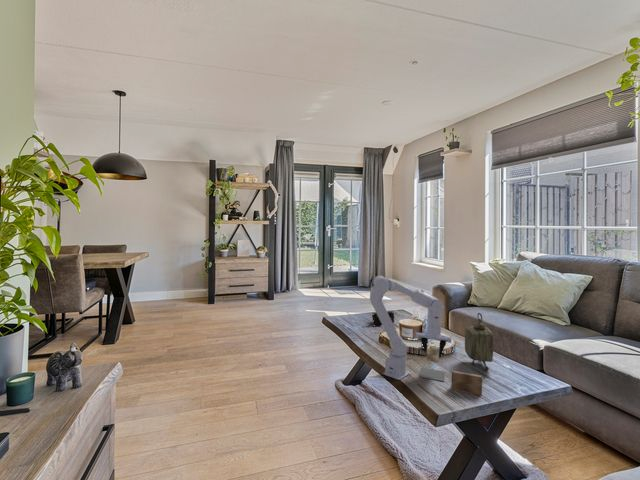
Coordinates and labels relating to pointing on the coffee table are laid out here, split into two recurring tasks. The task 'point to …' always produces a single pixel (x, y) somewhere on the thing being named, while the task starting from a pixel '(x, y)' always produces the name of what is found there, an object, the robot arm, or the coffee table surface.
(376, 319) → the film camera
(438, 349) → the letter block
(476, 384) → the walnut screen
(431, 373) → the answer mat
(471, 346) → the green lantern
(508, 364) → the coffee table surface
